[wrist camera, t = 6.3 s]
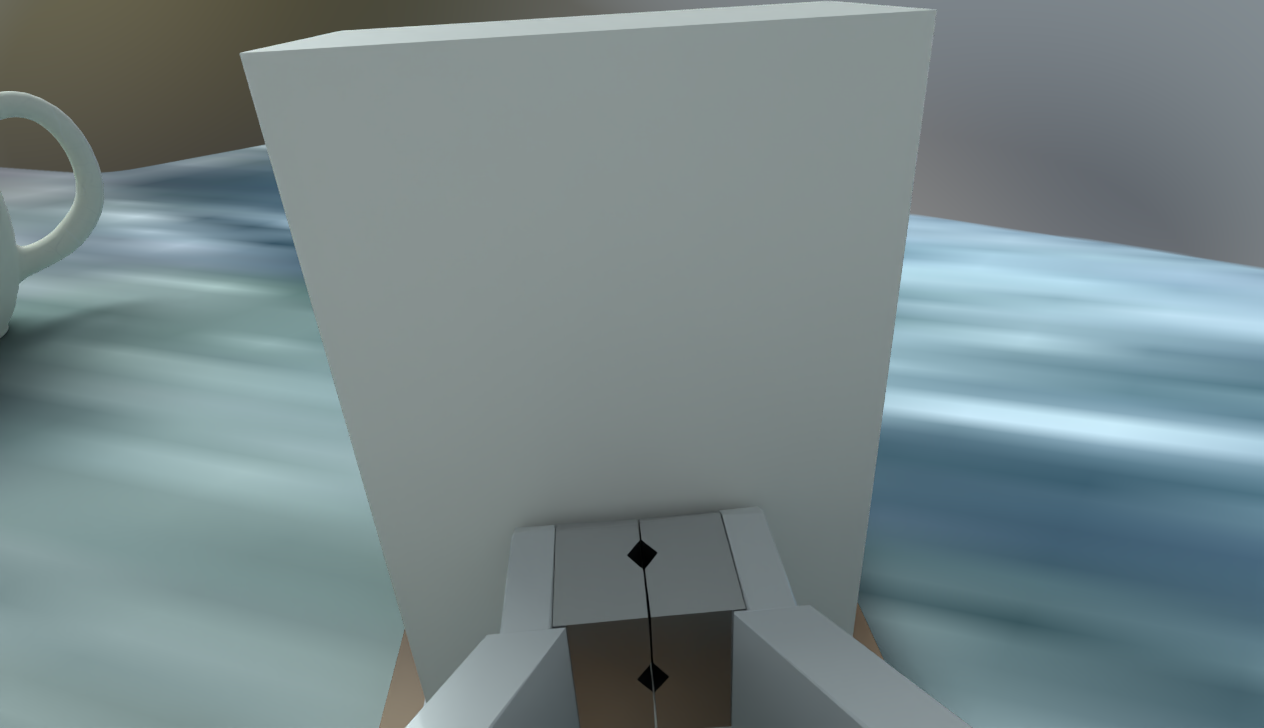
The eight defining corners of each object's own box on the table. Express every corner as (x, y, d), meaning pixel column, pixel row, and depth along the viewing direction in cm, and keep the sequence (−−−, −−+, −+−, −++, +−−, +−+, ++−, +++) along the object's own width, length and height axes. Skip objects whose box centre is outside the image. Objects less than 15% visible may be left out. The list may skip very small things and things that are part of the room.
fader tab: (839, 838, 11) (963, 12, 6) (463, 878, 11) (212, 59, 6) (777, 637, 15) (817, -1, 9) (489, 664, 15) (352, 28, 9)
